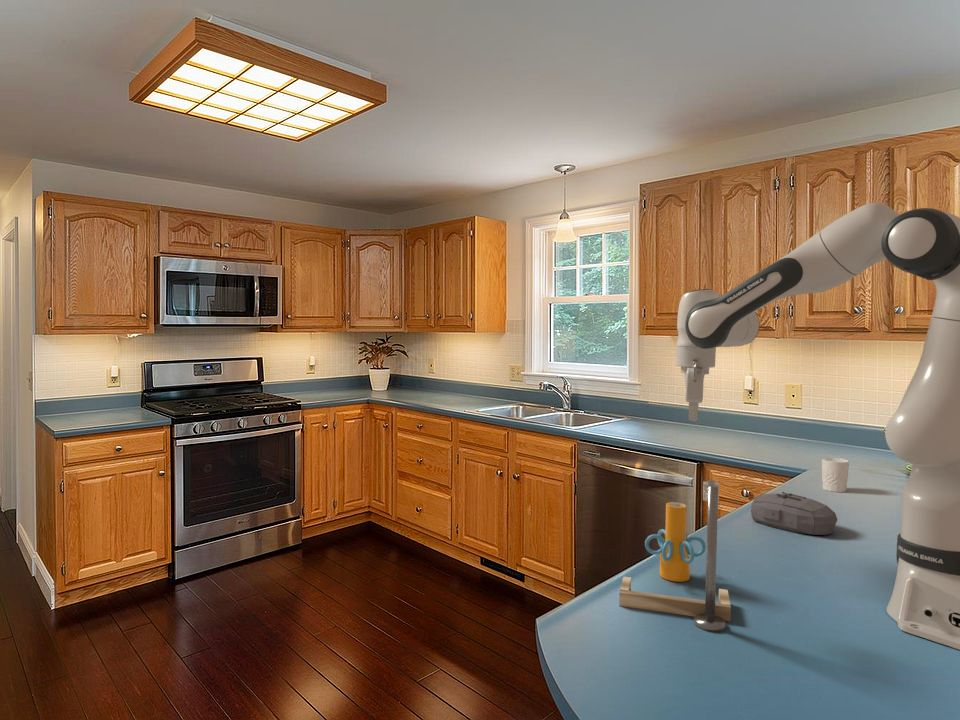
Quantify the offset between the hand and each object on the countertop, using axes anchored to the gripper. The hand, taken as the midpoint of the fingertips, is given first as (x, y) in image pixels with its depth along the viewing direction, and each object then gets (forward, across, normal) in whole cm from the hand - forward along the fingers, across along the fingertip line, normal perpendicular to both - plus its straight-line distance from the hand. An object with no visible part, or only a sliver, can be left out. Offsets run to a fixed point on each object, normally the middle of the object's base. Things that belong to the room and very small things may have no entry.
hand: (692, 417), depth 145 cm
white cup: (+31, +75, -46) cm, 93 cm away
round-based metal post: (+30, -39, -4) cm, 50 cm away
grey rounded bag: (+31, +26, -27) cm, 49 cm away
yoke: (+30, -36, +2) cm, 47 cm away
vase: (+31, -22, +2) cm, 38 cm away
